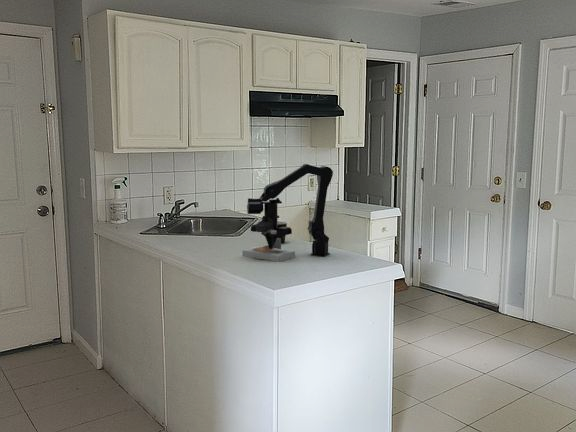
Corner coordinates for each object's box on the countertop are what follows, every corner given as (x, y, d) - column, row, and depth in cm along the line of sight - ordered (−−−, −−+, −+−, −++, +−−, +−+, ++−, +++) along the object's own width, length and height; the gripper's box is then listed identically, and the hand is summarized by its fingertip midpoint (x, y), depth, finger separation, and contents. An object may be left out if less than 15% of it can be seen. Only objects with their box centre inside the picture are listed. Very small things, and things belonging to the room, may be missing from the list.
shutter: (273, 249, 248) (273, 244, 247) (264, 251, 242) (264, 246, 242) (262, 247, 251) (262, 242, 251) (253, 250, 246) (253, 245, 246)
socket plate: (294, 256, 245) (294, 251, 244) (278, 261, 235) (278, 256, 235) (259, 251, 256) (259, 245, 256) (242, 255, 247) (242, 250, 246)
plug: (281, 251, 256) (281, 235, 255) (275, 252, 253) (275, 236, 252) (274, 250, 259) (274, 234, 258) (268, 251, 256) (268, 235, 254)
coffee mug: (275, 240, 282) (275, 221, 281) (290, 242, 278) (290, 222, 276) (262, 244, 272) (262, 224, 271) (277, 246, 268) (277, 225, 267)
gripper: (242, 214, 241) (242, 249, 243) (277, 217, 230) (277, 254, 232) (258, 211, 250) (258, 245, 252) (292, 214, 239) (292, 250, 241)
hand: (271, 248), depth 244 cm, fingers closed
